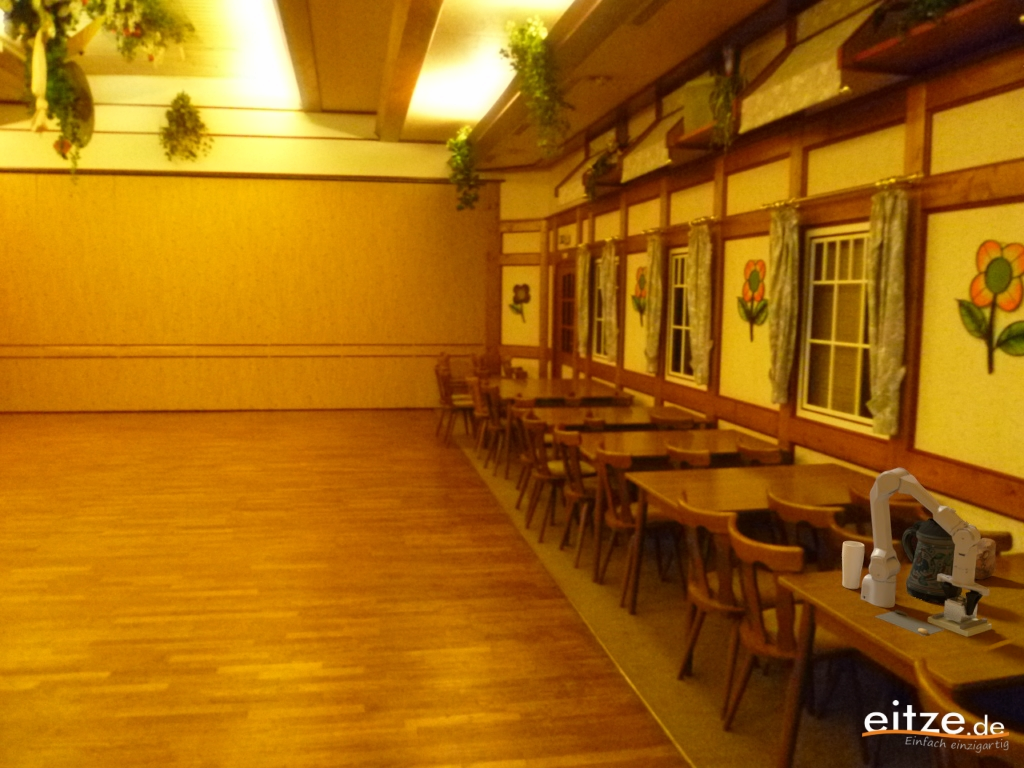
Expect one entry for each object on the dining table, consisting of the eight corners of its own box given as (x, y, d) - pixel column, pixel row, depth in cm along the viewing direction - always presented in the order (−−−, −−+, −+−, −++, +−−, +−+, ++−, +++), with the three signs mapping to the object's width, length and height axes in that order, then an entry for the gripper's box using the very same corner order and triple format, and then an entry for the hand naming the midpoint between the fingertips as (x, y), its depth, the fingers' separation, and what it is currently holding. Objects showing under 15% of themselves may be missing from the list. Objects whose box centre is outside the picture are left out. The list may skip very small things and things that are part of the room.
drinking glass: (855, 583, 275) (859, 540, 273) (865, 590, 268) (868, 546, 267) (836, 583, 275) (839, 540, 273) (845, 590, 268) (848, 546, 266)
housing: (959, 612, 242) (961, 591, 241) (976, 617, 238) (978, 597, 237) (943, 616, 238) (945, 596, 237) (960, 622, 234) (962, 601, 233)
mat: (874, 619, 244) (874, 613, 243) (894, 613, 249) (895, 607, 248) (923, 639, 230) (924, 632, 230) (944, 633, 235) (945, 626, 235)
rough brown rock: (912, 573, 289) (916, 534, 286) (924, 559, 302) (928, 521, 299) (986, 592, 274) (991, 550, 271) (995, 576, 287) (1000, 536, 284)
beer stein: (956, 608, 254) (963, 531, 252) (890, 593, 266) (896, 520, 263) (965, 594, 267) (971, 520, 265) (901, 580, 279) (907, 510, 276)
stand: (927, 624, 240) (928, 613, 240) (951, 617, 246) (952, 606, 246) (966, 640, 230) (968, 628, 230) (990, 632, 236) (991, 620, 236)
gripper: (932, 561, 241) (928, 605, 242) (980, 576, 228) (976, 622, 229) (946, 558, 244) (942, 601, 245) (995, 572, 232) (991, 618, 233)
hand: (960, 611), depth 238 cm, fingers closed on housing, 5 cm apart
